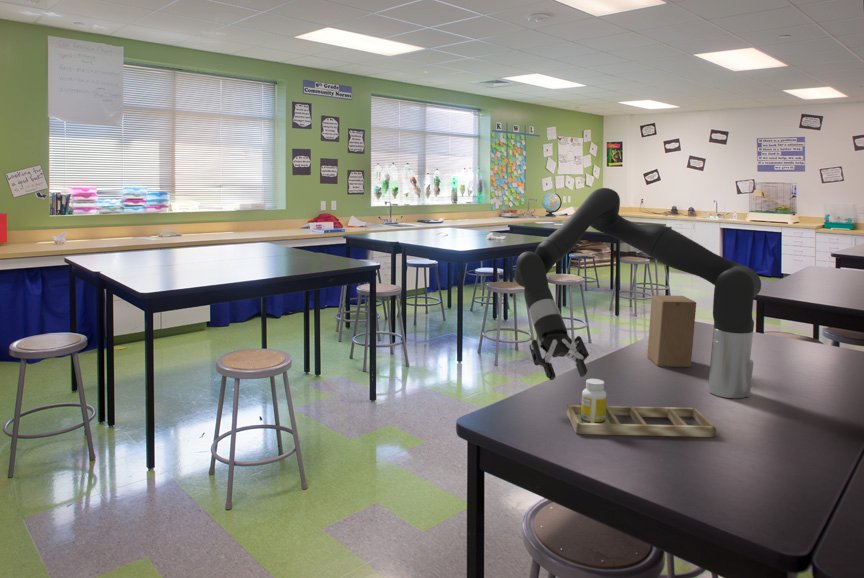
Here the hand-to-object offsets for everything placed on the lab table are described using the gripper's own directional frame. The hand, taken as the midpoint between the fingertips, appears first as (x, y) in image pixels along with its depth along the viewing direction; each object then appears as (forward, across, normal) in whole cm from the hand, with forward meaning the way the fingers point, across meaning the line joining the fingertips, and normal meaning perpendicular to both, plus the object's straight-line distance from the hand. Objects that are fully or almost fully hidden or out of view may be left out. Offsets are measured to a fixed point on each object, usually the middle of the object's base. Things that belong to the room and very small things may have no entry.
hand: (568, 377), depth 150 cm
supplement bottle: (+13, 0, +3) cm, 13 cm away
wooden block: (-11, -49, -22) cm, 55 cm away
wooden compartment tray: (+16, -10, +5) cm, 19 cm away
